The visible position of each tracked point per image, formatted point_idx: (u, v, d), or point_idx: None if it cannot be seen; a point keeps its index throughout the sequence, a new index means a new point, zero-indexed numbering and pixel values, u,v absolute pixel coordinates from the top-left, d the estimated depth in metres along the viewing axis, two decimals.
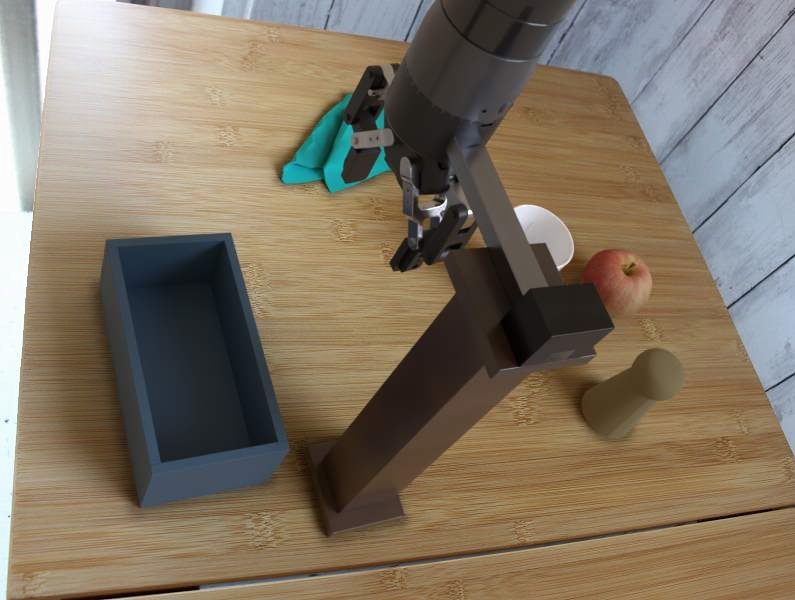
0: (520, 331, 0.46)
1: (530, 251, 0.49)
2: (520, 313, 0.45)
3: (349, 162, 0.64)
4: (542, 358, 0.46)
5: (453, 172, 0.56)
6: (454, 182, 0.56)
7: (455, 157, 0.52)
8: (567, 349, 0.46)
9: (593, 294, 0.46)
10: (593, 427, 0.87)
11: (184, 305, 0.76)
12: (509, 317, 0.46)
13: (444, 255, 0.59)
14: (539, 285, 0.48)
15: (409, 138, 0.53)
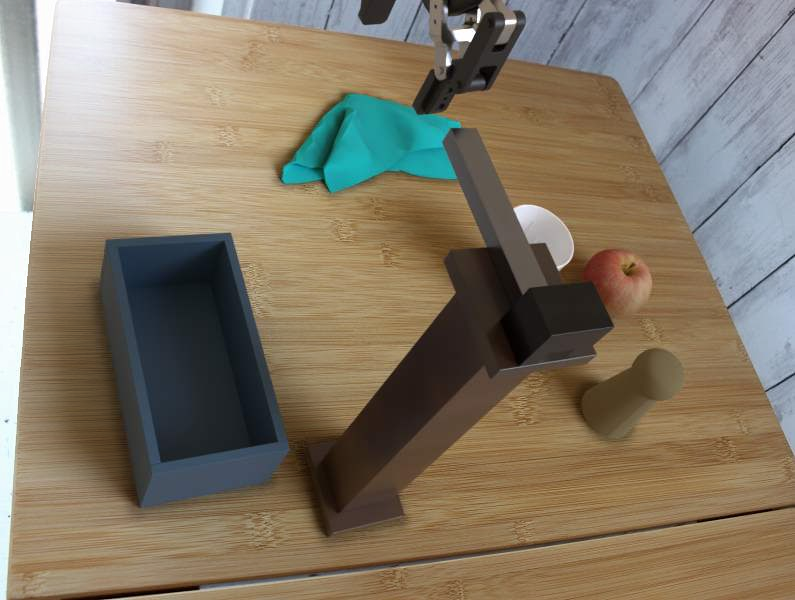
0: (520, 330, 0.46)
1: (529, 250, 0.49)
2: (520, 312, 0.45)
3: None
4: (542, 357, 0.46)
5: None
6: None
7: (454, 156, 0.52)
8: (566, 348, 0.46)
9: (592, 293, 0.46)
10: (593, 427, 0.87)
11: (184, 305, 0.76)
12: (509, 316, 0.46)
13: (476, 82, 0.52)
14: (539, 284, 0.48)
15: None
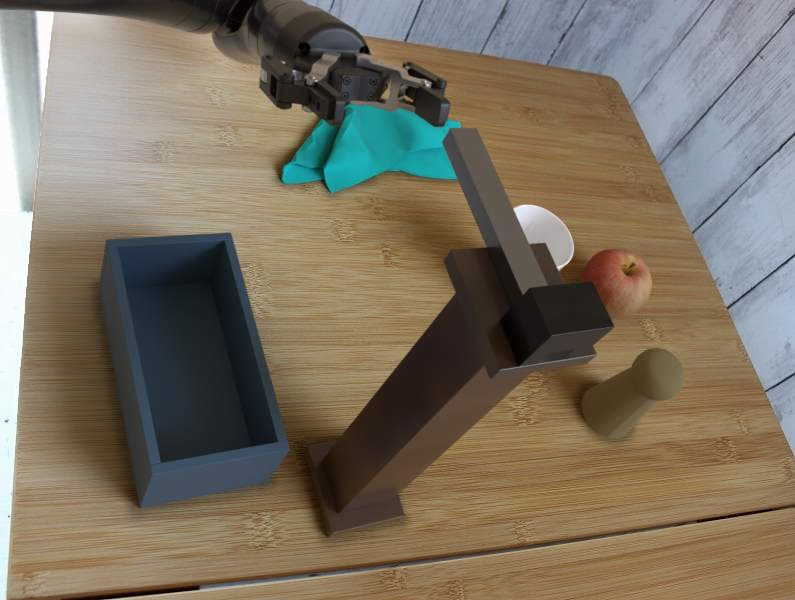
0: (520, 330, 0.46)
1: (529, 250, 0.49)
2: (520, 312, 0.45)
3: (328, 88, 0.60)
4: (542, 357, 0.46)
5: None
6: None
7: (454, 156, 0.52)
8: (566, 348, 0.46)
9: (592, 293, 0.46)
10: (593, 427, 0.87)
11: (184, 305, 0.76)
12: (509, 316, 0.46)
13: None
14: (539, 284, 0.48)
15: None
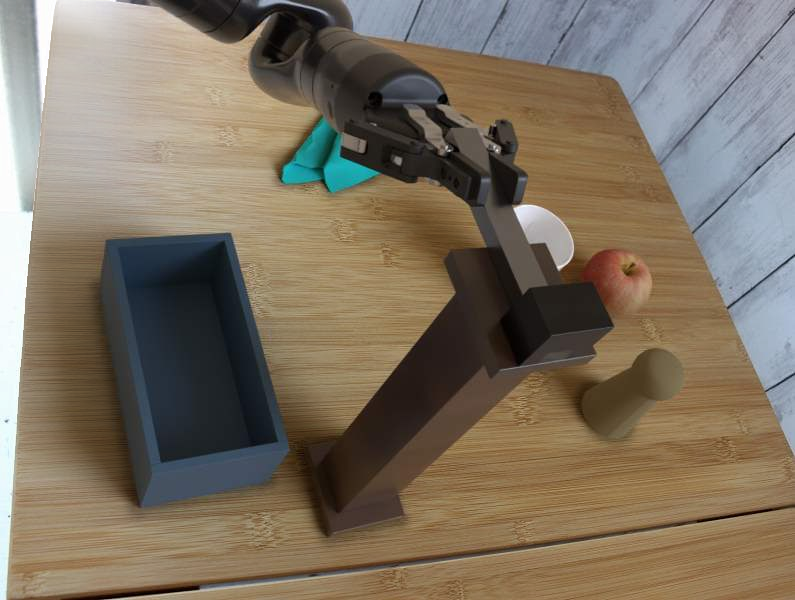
0: (520, 330, 0.46)
1: (530, 250, 0.49)
2: (520, 312, 0.45)
3: (466, 160, 0.50)
4: (542, 357, 0.46)
5: None
6: None
7: None
8: (566, 348, 0.46)
9: (592, 294, 0.46)
10: (593, 427, 0.87)
11: (184, 305, 0.76)
12: (509, 316, 0.46)
13: None
14: (539, 284, 0.48)
15: None
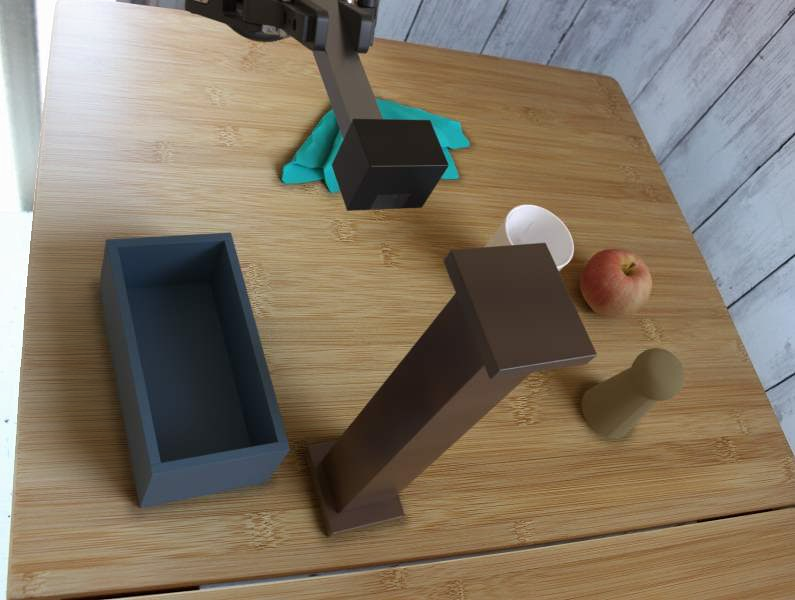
0: (347, 170, 0.42)
1: (371, 96, 0.45)
2: (346, 149, 0.42)
3: (307, 2, 0.47)
4: (372, 200, 0.42)
5: None
6: None
7: None
8: (399, 191, 0.42)
9: (428, 131, 0.42)
10: (593, 427, 0.87)
11: (184, 305, 0.76)
12: (338, 157, 0.43)
13: None
14: None
15: None
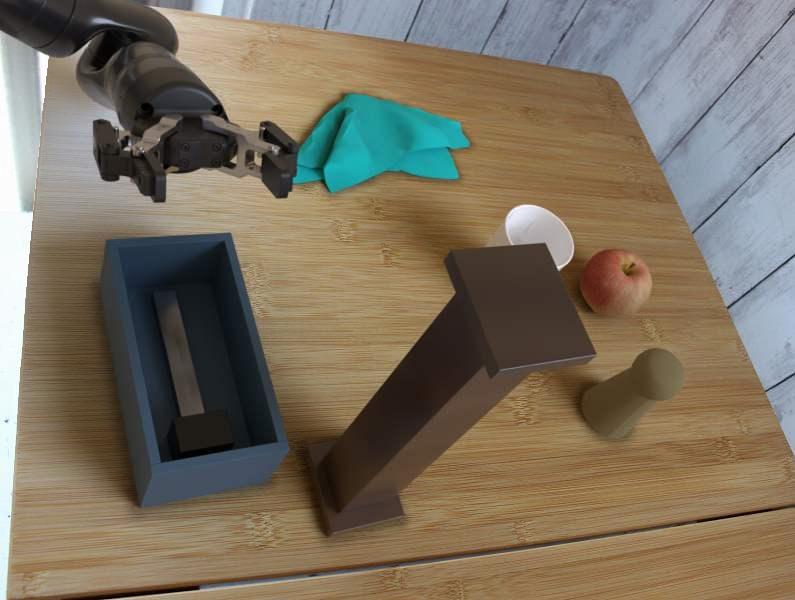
0: (172, 445, 0.68)
1: (195, 383, 0.71)
2: (171, 433, 0.67)
3: (152, 160, 0.55)
4: None
5: None
6: None
7: (155, 312, 0.74)
8: None
9: (223, 419, 0.68)
10: (593, 427, 0.87)
11: (184, 305, 0.76)
12: (169, 434, 0.68)
13: None
14: (196, 409, 0.70)
15: (201, 84, 0.64)
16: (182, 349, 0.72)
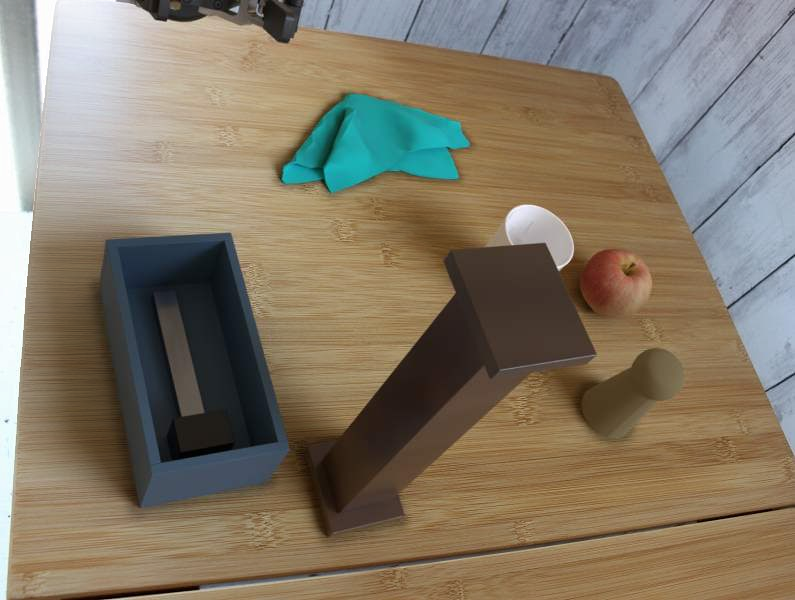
0: (172, 445, 0.68)
1: (195, 383, 0.71)
2: (171, 433, 0.67)
3: None
4: None
5: None
6: None
7: (155, 312, 0.74)
8: None
9: (223, 419, 0.68)
10: (593, 427, 0.87)
11: (184, 305, 0.76)
12: (169, 434, 0.68)
13: None
14: (196, 409, 0.70)
15: None
16: (182, 349, 0.72)
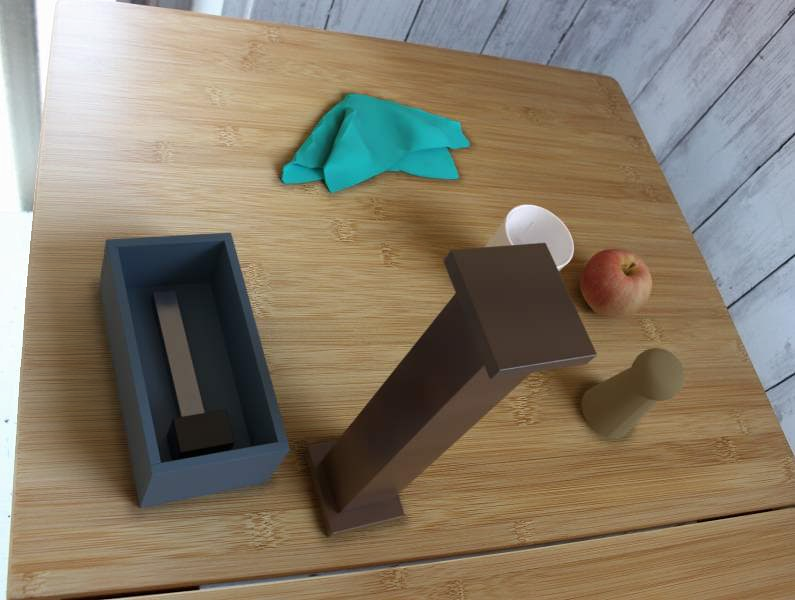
0: (172, 445, 0.68)
1: (195, 383, 0.71)
2: (171, 433, 0.67)
3: None
4: None
5: None
6: None
7: (155, 312, 0.74)
8: None
9: (223, 419, 0.68)
10: (593, 427, 0.87)
11: (184, 305, 0.76)
12: (169, 434, 0.68)
13: None
14: (196, 409, 0.70)
15: None
16: (182, 349, 0.72)
